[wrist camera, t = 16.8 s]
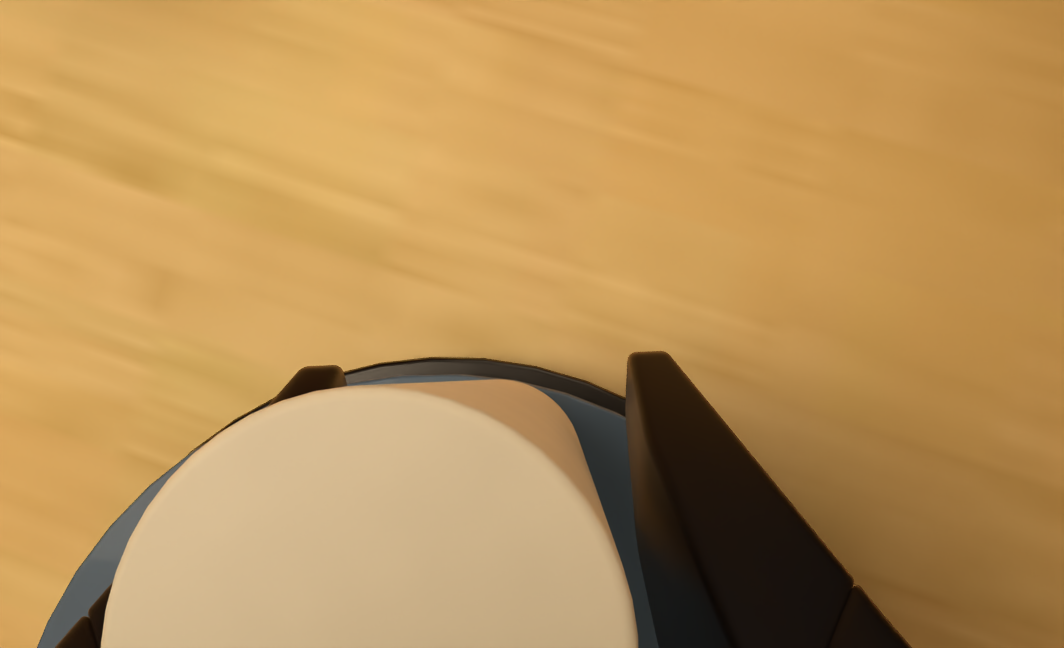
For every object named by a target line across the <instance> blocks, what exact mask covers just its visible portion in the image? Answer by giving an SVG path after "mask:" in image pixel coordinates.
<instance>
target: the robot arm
mask: <svg viewBox="0 0 1064 648" xmlns="http://www.w3.org/2000/svg"><path fill="white" fill-rule="evenodd" d="M345 386H347V382H346V378H345V375H344V372H343V371H342V369H341V368H340V367H338V366H336V365H328V366H308V367H304V368H302V369H301V370H299V371H298V372H297V373H296V375H295V376H294V377H293V378H292V379H291V380H290V381H289V383H288V384H287V385H286V386H285V387H284V388H283V389H282V391H281V392H280V393H279V394H278V395H277V396H276V397H275V398H274V400H273V401H272V402H271V403H270V404H269V405H268V406H270V405H273V404H275V403H277V402H280V401H282V400H286V399H289V398H293V397H296V396H300V395H303V394H306V393H310V392H313V391H319V390H325V389H332V388H339V387H345ZM268 406H267V407H268ZM625 414H626V430H627V441H628V452H629V464H630V475H631V486H632V497H633V508H634V520H635V530H636V538H637V547H638V553H639V558H640V563H641V569H642V574H643V578H644V583H645V587H646V592H647V596H648V601H649V606H650V610H651V615H652V619H653V624H654V628H655V633H656V638H657V642H658V647H659V648H912V647H911V646H910V645H909V644H908V643H907V642H906V641H905V639H904V638H903V637H902V636H901V635H900V634H899V633H898V631H897V630H896V629H895V628H894V627H893V626H892V624H891V623H890V622H889V621H888V620H887V619H886V618H885V616H884V615H883V614H882V613H881V611H880V610H879V609H878V608H877V607H876V605H875V604H874V603H873V602H872V600H871V599H870V598H869V597H868V595H867V594H866V593H865V592H864V591H863V589H862V588H861V587H860V586H853V585H854V579H853V578H852V576H851V575H850V574H849V573H848V572H847V570H846V569H845V568H844V567H843V565H842V564H841V563H840V562H839V561H838V559H837V558H836V557H835V556H834V554H833V553H832V552H831V551H830V550H829V548H828V547H827V546H826V545H825V544H824V542H823V541H822V540H821V539H820V537H819V536H818V535H817V534H816V533H815V531H814V530H813V529H812V528H811V526H810V525H809V524H808V523H807V522H806V520H805V519H804V518H803V517H802V516H801V514H800V513H799V512H798V511H797V509H796V508H795V507H794V506H793V505H792V503H791V502H790V501H789V500H788V499H787V497H786V496H785V495H784V494H783V492H782V491H781V490H780V489H779V488H778V486H777V485H776V484H775V483H774V481H773V480H772V479H771V478H770V477H769V475H768V474H767V473H766V472H765V471H764V469H763V468H762V467H761V466H760V464H759V463H758V462H757V461H756V460H755V458H754V457H753V456H752V455H751V453H750V452H749V451H748V450H747V449H746V447H745V446H744V445H743V444H742V443H741V441H740V440H739V439H738V438H737V436H736V435H735V434H734V433H733V432H732V430H731V429H730V428H729V427H728V425H727V424H726V423H725V422H724V421H723V419H722V418H721V417H720V416H719V415H718V413H717V412H716V411H715V410H714V408H713V407H712V406H711V405H710V404H709V402H708V401H707V400H706V399H705V398H704V396H703V395H702V394H701V393H700V391H699V390H698V389H697V388H696V387H695V385H694V384H693V383H692V382H691V380H690V379H689V378H688V377H687V376H686V374H685V373H684V372H683V371H682V370H681V368H680V367H679V366H678V365H677V363H676V362H675V361H674V360H673V359H672V357H671V356H670V355H669V354H668V353H666V352H663V351H653V352H634V353H632V354H630V356H629V357H628V361H627V381H626V404H625ZM112 584H113V582H112V583H111V585H110V586H109V587H108V588H107V589H106V590H105V591H104V592H103V594H102V595H101V596H100V597H99V598H98V599H97V600H96V602H95V603H94V604H93V605H92V606H91V607H90V608H89V610H88V615H89V617H88V616H83V617H81V618H80V619H79V620H78V622H77V623H76V624H75V625H74V626H73V627H72V628H71V629H70V631H69V632H68V633H67V634H66V635H65V636H64V637H63V639H62V640H61V641H60V642H59V643H58V644H57V645H56V646H55V648H101V640H102V633H103V625H104V618H105V611H106V606H107V602H108V599H109V595H110V591H111V588H112Z"/></svg>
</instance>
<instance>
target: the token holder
mask: <svg viewBox="0 0 1064 648" xmlns="http://www.w3.org/2000/svg"><path fill="white" fill-rule="evenodd" d="M112 582H113V584H112V588H111V591H110V595H109V599H108V602H107V606H106V611H105V618H104V625H103V633H102V640H101V648H659V647H658V642H657V638H656V633H655V628H654V624H653V619H652V615H651V610H650V606H649V601H648V596H647V592H646V587H645V583H644V578H643V574H642V569H641V563H640V558H639V553H638V547H637V538H636V530H635V520H634V508H633V497H632V486H631V475H630V464H629V452H628V441H627V430H626V418H625V417H624V416H622V415H620V414H618V413H616V412H614V411H612V410H609V409H607V408H604V407H602V406H599V405H596V404H594V403H591V402H589V401H586V400H584V399H581V398H579V397H576V396H574V395H571V394H569V393H565V392H561V391H557V390H553V389H549V388H545V387H541V386H537V385H533V384H529V383H525V382H521V381H517V380H510V379H501V378H492V377H483V376H474V375H466V374H443V375H400V376H394V377H387V378H380V379H374V380H367V381H360V382H354V383H347V386H345V387H339V388H332V389H325V390H319V391H313V392H310V393H306V394H303V395H300V396H296V397H293V398H289V399H286V400H282V401H280V402H277V403H275V404H273V405H270V406H268V407H266V408H264V409H261V410H259V411H257V412H254V413H252V414H250V415H248V416H247V417H245V418H243V419H242V420H240V421H238V422H237V423H235V424H233V425H232V426H230V427H228V428H227V429H225V430H223V431H222V432H220V433H219V434H217V435H216V436H215V437H214V438H212V439H211V440H210V441H209V442H207V443H205V444H204V445H202V446H200V447H199V448H197V449H195V450H194V451H193V452H191V453H190V454H189V455H187V456H186V457H185V458H184V459H182V460H181V461H180V462H179V463H177V464H176V465H175V466H174V467H172V468H171V469H170V470H169V471H167V472H166V473H165V474H164V475H162V476H161V477H160V478H159V479H157V480H156V481H155V482H153V483H152V484H151V485H150V486H149V487H148V488H147V489H146V490H145V491H144V492H143V493H142V494H141V495H140V496H139V497H138V498H137V499H136V500H135V501H134V502H133V503H132V504H131V505H130V506H129V507H128V508H127V509H126V510H125V512H124V513H123V514H122V515H121V516H120V517H119V518H118V519H117V520H116V521H115V522H114V523H113V524H112V525H111V526H110V527H109V529H108V530H107V531H106V533H105V534H104V535H103V537H102V538H101V539H100V541H99V542H98V543H97V545H96V546H95V547H94V549H93V550H92V551H91V553H90V554H89V555H88V557H87V558H86V559H85V561H84V562H83V563H82V565H81V566H80V567H79V569H78V570H77V571H76V573H75V575H74V577H73V578H72V580H71V582H70V584H69V585H68V587H67V589H66V591H65V592H64V594H63V596H62V598H61V599H60V601H59V603H58V605H57V606H56V608H55V610H54V612H53V613H52V615H51V617H50V619H49V620H48V623H47V625H46V627H45V630H44V632H43V635H42V637H41V639H40V642H39V644H38V647H37V648H55V646H56V645H57V644H58V643H59V642H60V641H61V640H62V639H63V637H64V636H65V635H66V634H67V633H68V632H69V631H70V629H71V628H72V627H73V626H74V625H75V624H76V623H77V622H78V620H79V619H80V618H81V617H83V616H88V617H89V615H88V610H89V608H90V607H91V606H92V605H93V604H94V603H95V602H96V600H97V599H98V598H99V597H100V596H101V595H102V594H103V592H104V591H105V590H106V589H107V588H108V587H109V586H110V585H111V583H112Z"/></svg>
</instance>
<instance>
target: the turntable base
mask: <svg viewBox="0 0 1064 648" xmlns="http://www.w3.org/2000/svg"><path fill="white" fill-rule="evenodd" d="M443 374H466V375H474V376H483V377H492V378H501V379H510V380H517V381H521V382H525V383H529V384H533V385H537V386H541V387H545V388H549V389H553V390H557V391H561V392H565V393H569V394H571V395H574V396H576V397H579V398H581V399H584V400H586V401H589V402H591V403H594V404H596V405H599V406H602V407H604V408H607V409H609V410H612V411H614V412H616V413H618V414H620V415H622V416H624V417H625V418H626V414H625V404H626V398H625V397H622V396H620V395H618V394H615V393H613V392H611V391H609V390H606V389H604V388H602V387H599V386H597V385H595V384H593V383H590V382H588V381H585V380H582V379H578V378H575V377H571V376H568V375H565V374H561V373H558V372H554V371H551V370H547V369H544V368H541V367H537V366H531V365H525V364H518V363H512V362H505V361H499V360H492V359H486V358H447V357H429V358H420V359H411V360H402V361H393V362H384V363H378V364H373V365H369V366H365V367H361V368H357V369H353V370H349V371H345V372H344V375H345V378H346V382H347V383H354V382H360V381H367V380H374V379H380V378H387V377H394V376H400V375H443ZM273 400H274V398H273V399H271V400H269V401H268V402H266V403H264V404H262V405H260V406H258V407H257V408H255V409H253V410H251V411H249V412H248V413H246V414H244V415H242V416H240V417H238V418H237V419H235V420H233V421H232V422H231V423H229V424H228V425H226V426H225V427H224V428H222V429H221V430H220V431H218V432H217V433H216V434H214V435H213V436H211V437H210V438H209V439H207V440H206V441H205V442H203V443H202V444H201V445H199V446H198V447H196V448H195V449H197V448H199V447H200V446H202V445H204V444H205V443H207V442H209V441H210V440H211V439H212V438H214V437H215V436H216V435H217V434H219V433H220V432H222V431H223V430H225V429H227V428H228V427H230V426H232V425H233V424H235V423H237V422H238V421H240V420H242V419H243V418H245V417H247V416H248V415H250V414H252V413H254V412H257V411H259V410H261V409H264V408H266V407H267V406H268V405H269V404H270V403H271V402H272V401H273ZM195 449H194V450H195ZM194 450H192V451H191V452H193V451H194ZM191 452H190V453H191ZM190 453H189V454H190ZM189 454H188V455H189Z"/></svg>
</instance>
